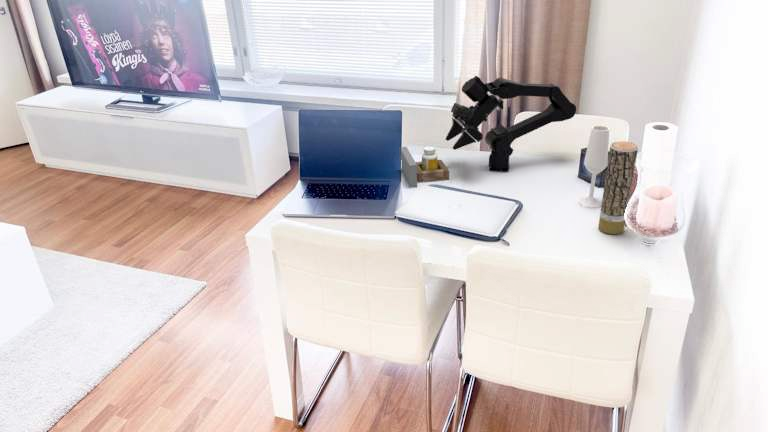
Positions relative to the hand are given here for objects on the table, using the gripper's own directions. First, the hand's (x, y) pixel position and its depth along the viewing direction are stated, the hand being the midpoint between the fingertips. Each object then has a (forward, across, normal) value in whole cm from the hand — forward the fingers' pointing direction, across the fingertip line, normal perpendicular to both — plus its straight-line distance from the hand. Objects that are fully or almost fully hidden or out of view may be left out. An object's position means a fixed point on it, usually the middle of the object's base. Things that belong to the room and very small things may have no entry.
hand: (449, 144), depth 200 cm
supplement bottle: (+12, 0, +2) cm, 13 cm away
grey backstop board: (+18, 0, -3) cm, 18 cm away
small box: (-24, +18, +40) cm, 50 cm away
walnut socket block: (+13, 0, +3) cm, 14 cm away
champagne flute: (-17, +33, +33) cm, 50 cm away
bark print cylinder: (-16, +51, +31) cm, 62 cm away
